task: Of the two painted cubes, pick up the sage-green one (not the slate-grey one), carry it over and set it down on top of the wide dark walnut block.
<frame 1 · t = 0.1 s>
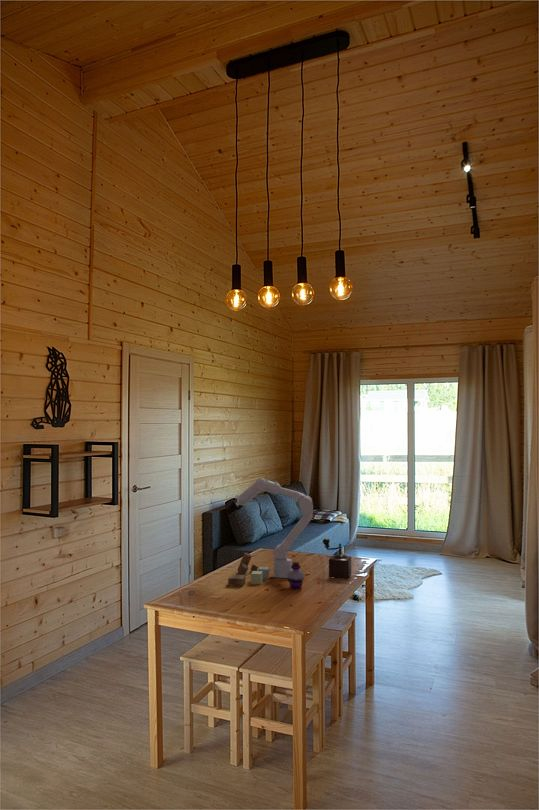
hand: (228, 512, 284), 32 cm above the table, tool tilted 50°, fingers open, 7 cm apart
manual coffee grinder: (335, 575, 280), on the table
slate cube: (263, 578, 274), on the table
wooden block set: (244, 575, 281), on the table
potion bottle: (295, 588, 257), on the table
walnut base: (236, 585, 262), on the table
sage cube: (256, 582, 266), on the table
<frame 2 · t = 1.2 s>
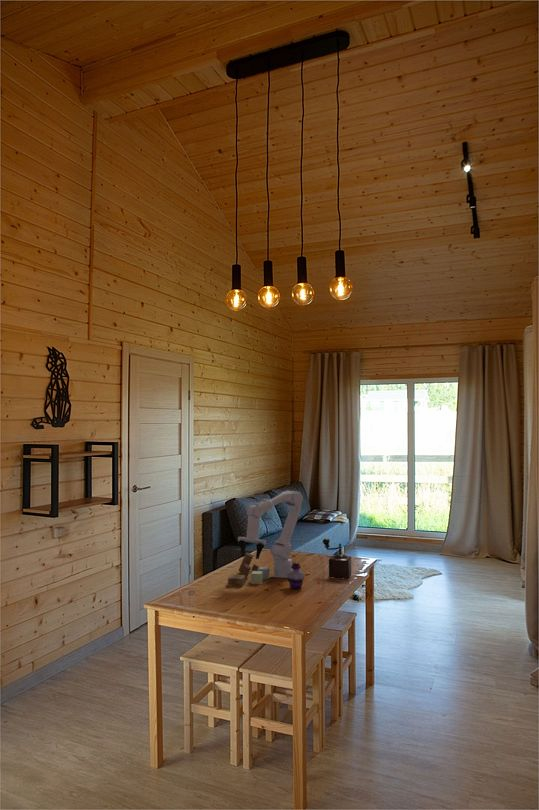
hand: (250, 557, 267), 12 cm above the table, tool pointing down, fingers open, 7 cm apart
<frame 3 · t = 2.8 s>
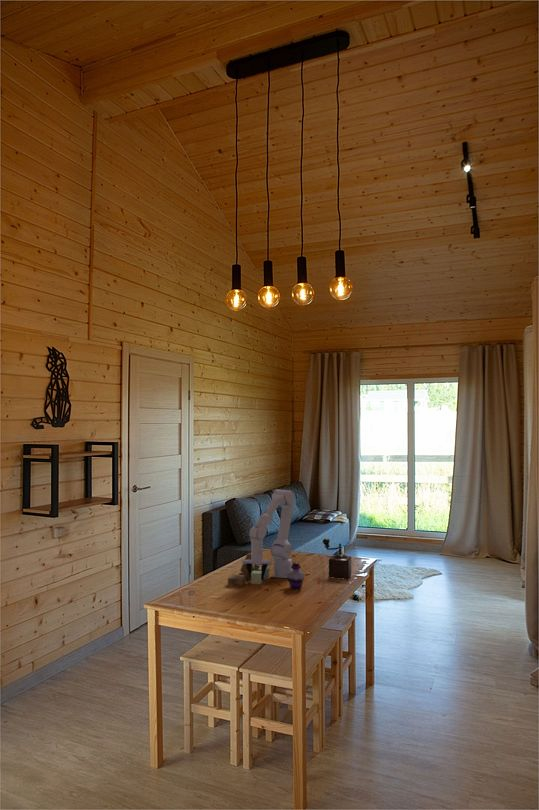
hand: (256, 579, 266), 1 cm above the table, tool pointing down, fingers closed on sage cube, 5 cm apart
wooden block set: (249, 575, 281), on the table
sage cube: (256, 582, 266), on the table, touching gripper
everything else where it was.
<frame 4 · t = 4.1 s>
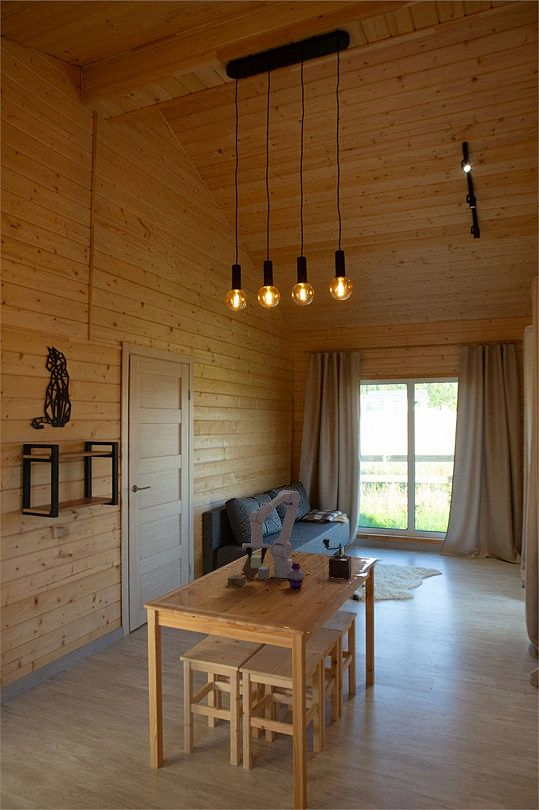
hand: (256, 563, 266), 9 cm above the table, tool pointing down, fingers closed on sage cube, 5 cm apart
slate cube: (263, 578, 274), on the table, touching wooden block set
wooden block set: (251, 575, 280), on the table, touching slate cube
sage cube: (256, 566, 266), point 8 cm above the table, touching gripper
everything else where it was.
when the fingers open (7 cm above the table, at t = 5.7 s): sage cube drops 1 cm, resting on walnut base.
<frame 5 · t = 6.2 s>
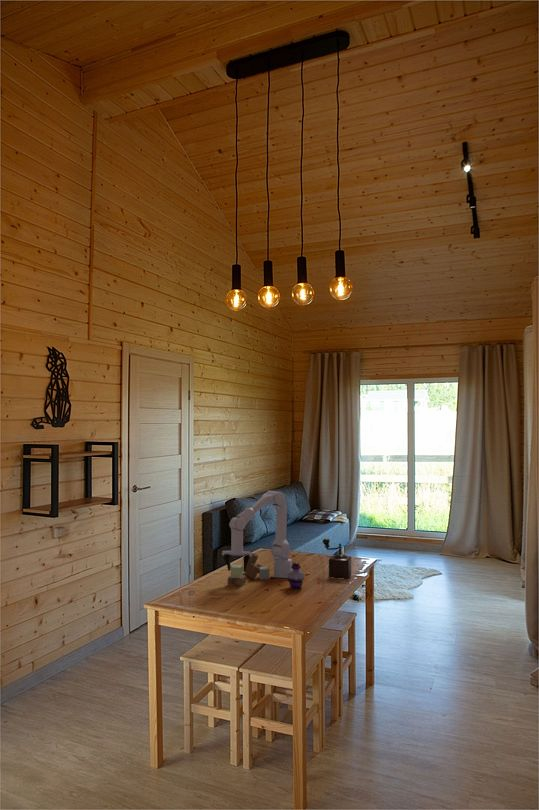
hand: (236, 570, 263), 7 cm above the table, tool pointing down, fingers open, 7 cm apart
walnut base: (236, 585, 262), on the table, touching sage cube
sage cube: (236, 576, 263), point 4 cm above the table, touching walnut base
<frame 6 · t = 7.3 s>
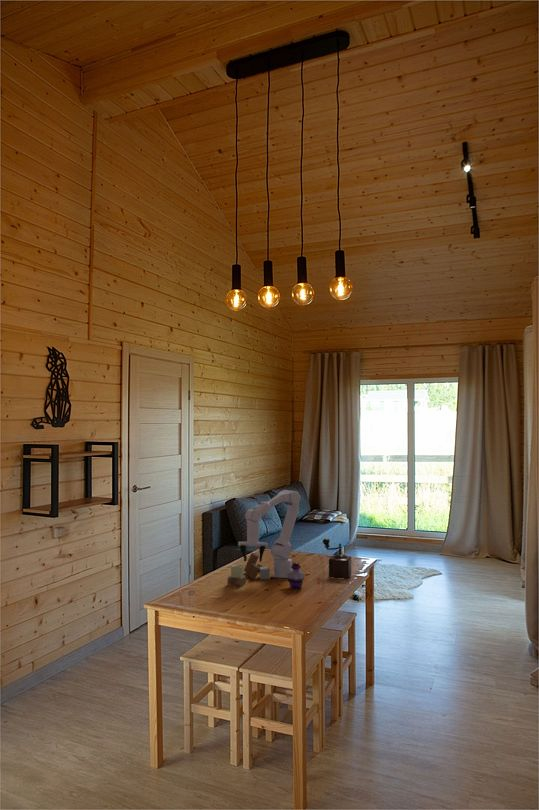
hand: (253, 561, 268), 10 cm above the table, tool pointing down, fingers open, 7 cm apart
nothing on the table moved.
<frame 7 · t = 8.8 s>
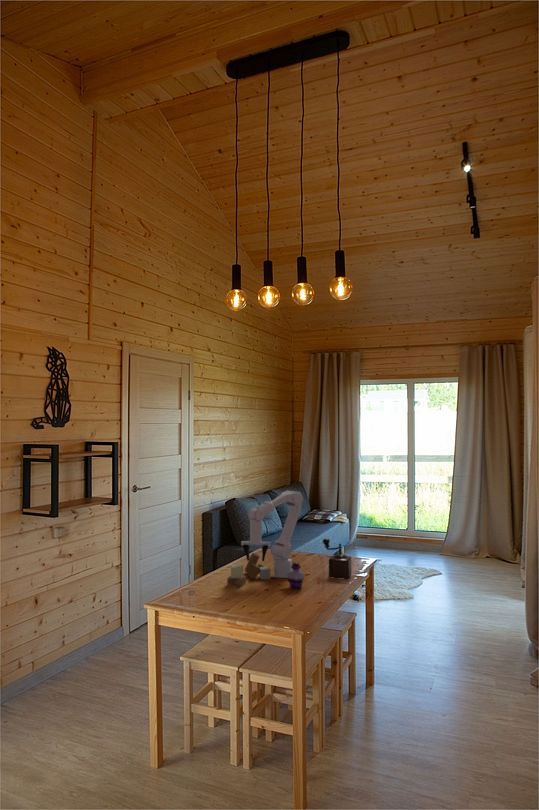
hand: (255, 560, 268), 10 cm above the table, tool pointing down, fingers open, 7 cm apart
at the end: sage cube 0.0 cm off-centre on the walnut base, point 4.0 cm above the walnut base's base; sage cube tilted 0°; the gripper is holding nothing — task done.
